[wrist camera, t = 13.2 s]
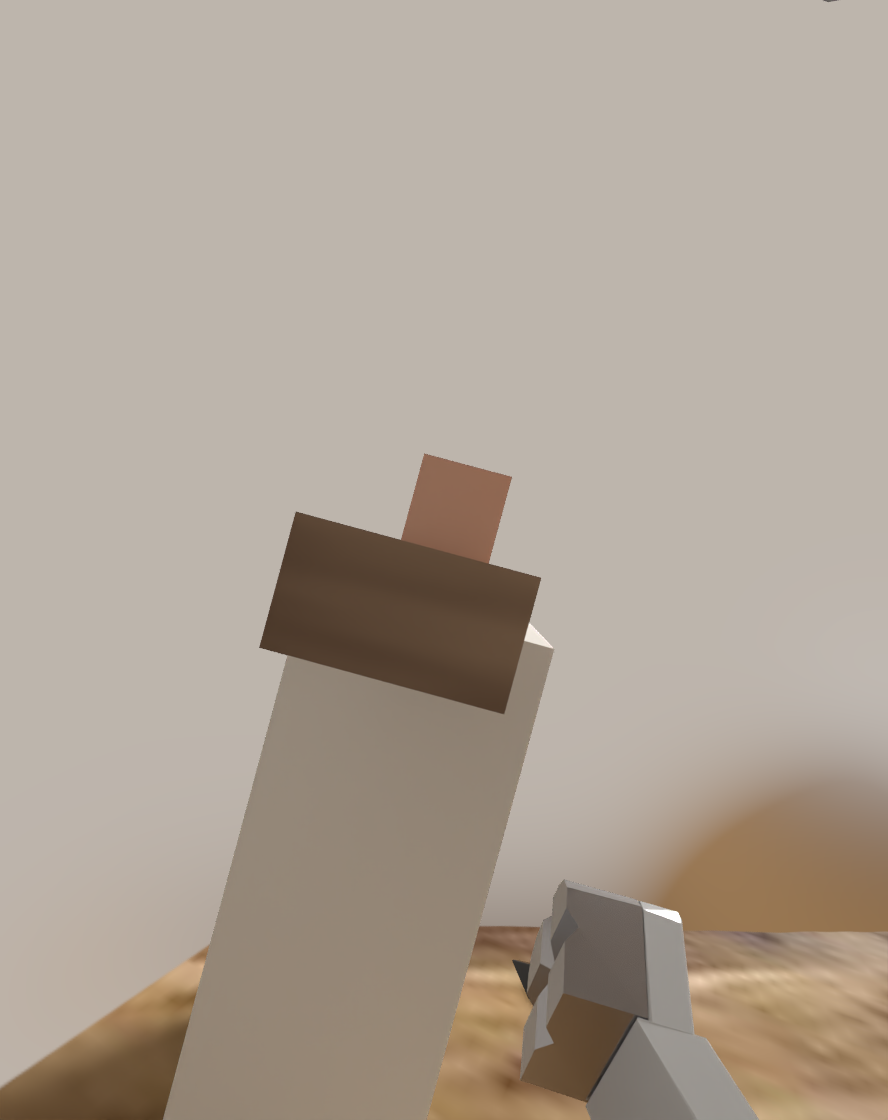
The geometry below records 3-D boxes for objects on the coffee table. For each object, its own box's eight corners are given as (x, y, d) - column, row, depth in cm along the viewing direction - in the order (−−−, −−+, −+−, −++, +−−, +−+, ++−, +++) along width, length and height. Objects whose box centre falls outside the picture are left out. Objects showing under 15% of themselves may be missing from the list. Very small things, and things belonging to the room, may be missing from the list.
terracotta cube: (406, 542, 41) (428, 463, 41) (485, 564, 41) (507, 484, 41) (400, 541, 37) (424, 453, 37) (488, 564, 37) (511, 476, 37)
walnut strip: (388, 590, 41) (401, 541, 41) (477, 614, 41) (490, 565, 41) (259, 647, 15) (295, 511, 15) (504, 714, 15) (541, 577, 15)
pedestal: (246, 1002, 49) (360, 574, 49) (410, 1049, 49) (526, 619, 48) (136, 1217, 33) (307, 581, 33) (380, 1290, 33) (554, 648, 32)
